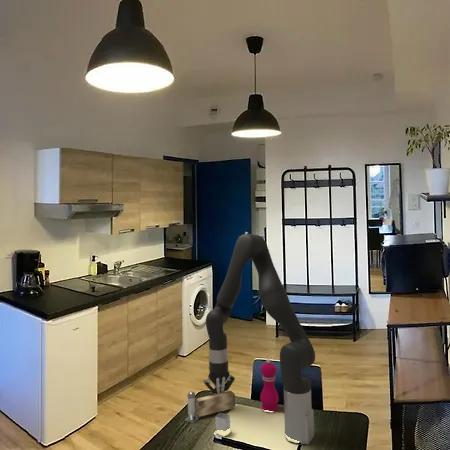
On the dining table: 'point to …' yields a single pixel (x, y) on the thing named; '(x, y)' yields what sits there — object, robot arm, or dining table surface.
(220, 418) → the grey block
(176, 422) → the dining table surface
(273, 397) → the pepper mill
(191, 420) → the hinge post
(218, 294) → the robot arm
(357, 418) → the dining table surface
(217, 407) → the gate
